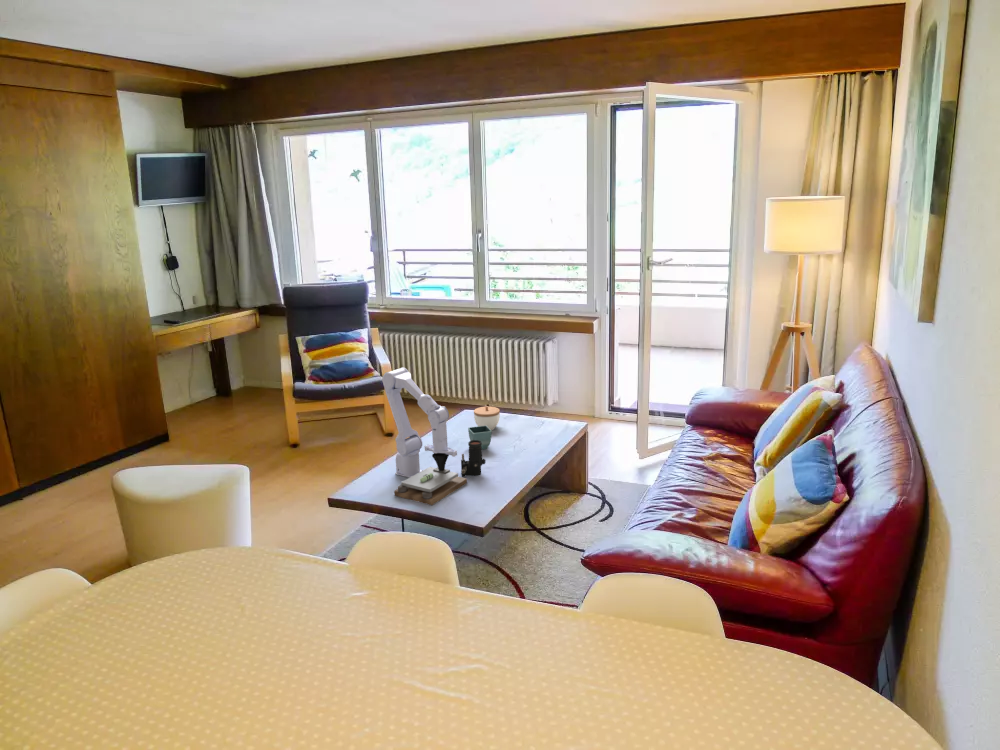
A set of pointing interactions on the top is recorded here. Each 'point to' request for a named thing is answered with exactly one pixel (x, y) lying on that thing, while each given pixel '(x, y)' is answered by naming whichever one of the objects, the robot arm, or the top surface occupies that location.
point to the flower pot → (480, 435)
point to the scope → (473, 460)
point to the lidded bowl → (487, 416)
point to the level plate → (429, 479)
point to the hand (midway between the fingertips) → (441, 470)
